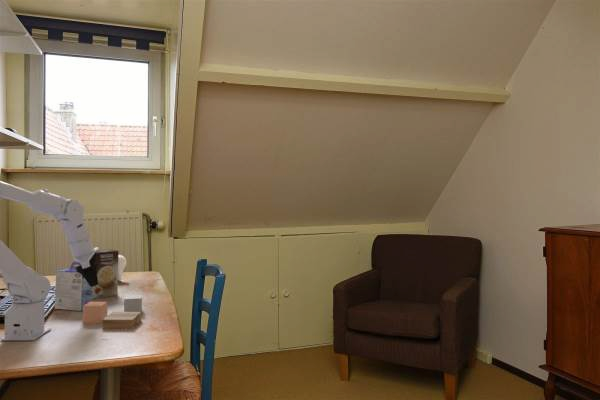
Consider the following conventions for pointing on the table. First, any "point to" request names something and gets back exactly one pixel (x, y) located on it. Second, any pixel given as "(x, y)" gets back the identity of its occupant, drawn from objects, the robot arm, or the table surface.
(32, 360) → the table surface
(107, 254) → the coffee box
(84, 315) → the terracotta cube
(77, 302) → the ink cartridge box
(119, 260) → the lightbulb
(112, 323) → the walnut block
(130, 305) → the grey cube
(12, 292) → the robot arm
